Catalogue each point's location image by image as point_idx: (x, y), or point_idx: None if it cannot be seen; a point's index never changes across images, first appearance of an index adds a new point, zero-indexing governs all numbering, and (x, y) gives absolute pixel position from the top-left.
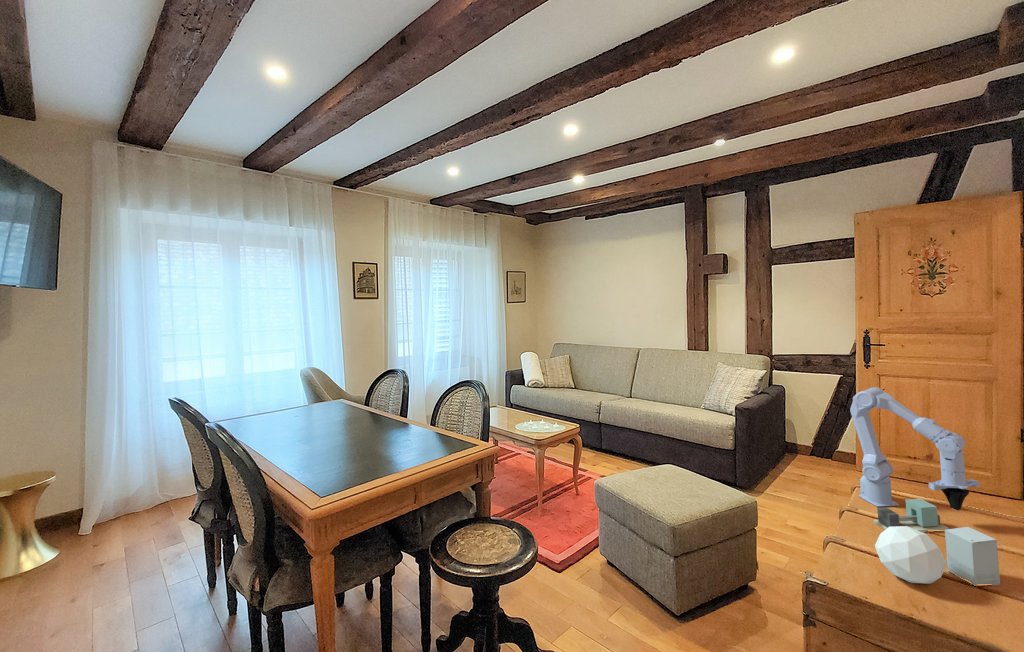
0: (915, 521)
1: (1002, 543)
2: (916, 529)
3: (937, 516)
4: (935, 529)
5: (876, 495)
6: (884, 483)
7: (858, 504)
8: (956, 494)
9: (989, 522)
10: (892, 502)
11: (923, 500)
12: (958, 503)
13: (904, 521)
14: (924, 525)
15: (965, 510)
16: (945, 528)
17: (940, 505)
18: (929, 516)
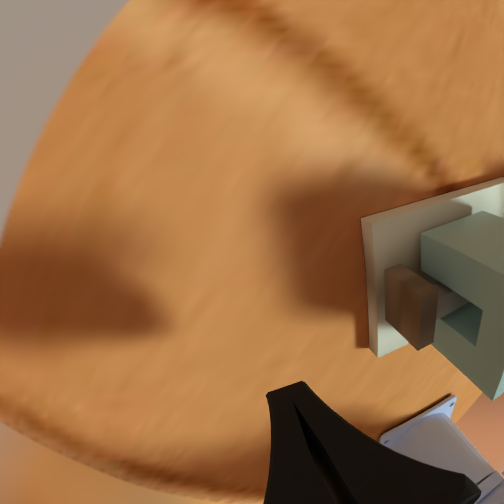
0: None
1: (139, 75)
2: (499, 190)
3: (466, 254)
4: (436, 203)
5: (463, 434)
6: (478, 481)
7: (478, 391)
8: (437, 491)
9: (69, 368)
10: (392, 443)
11: (501, 379)
12: (319, 427)
13: None
14: (480, 214)
15: (130, 459)
16: (392, 216)
17: (212, 479)
18: (502, 240)
